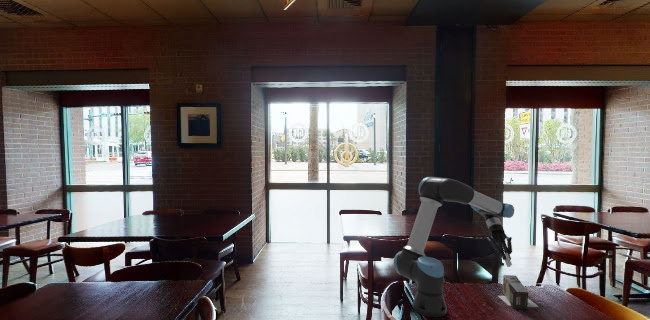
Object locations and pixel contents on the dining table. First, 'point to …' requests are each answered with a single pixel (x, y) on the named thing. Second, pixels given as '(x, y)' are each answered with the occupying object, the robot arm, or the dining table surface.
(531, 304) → the mat
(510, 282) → the coffee box
